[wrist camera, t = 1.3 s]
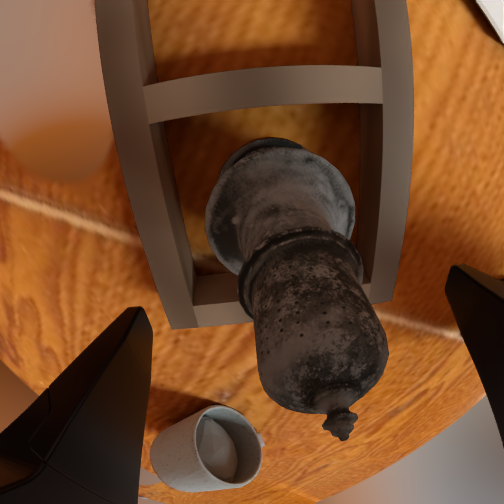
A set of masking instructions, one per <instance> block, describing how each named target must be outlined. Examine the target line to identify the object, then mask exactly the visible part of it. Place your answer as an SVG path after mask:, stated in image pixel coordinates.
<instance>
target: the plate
mask: <svg viewBox="0 0 504 504" xmlns="http://www.w3.org/2000/svg"><path fill="white" fill-rule="evenodd" d="M474 1H475V3H476V4H477V6H478V7H479V9H480V10H481V11H482V13H483V14H484V16H485V17H486V19H487V20H488V22H489V23H490V25H491V27H492V28H493V30H494V31H495V33H496V35H497V36H498V38H499V40H500V41H501V43H502V44H504V0H474Z"/></svg>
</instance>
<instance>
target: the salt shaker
mask: <svg viewBox="0 0 504 504" xmlns="http://www.w3.org/2000/svg"><path fill="white" fill-rule="evenodd" d="M354 223H355V202H354V199H353V195H352V192H351V189H350V186H349V185H348V183H347V181H346V180H345V178H344V177H343V175H342V174H341V172H340V171H339V170H338V169H337V168H335V167H334V166H333V165H332V164H331V163H329V162H328V161H327V160H326V159H325V158H323V157H321V156H318V155H316V154H314V153H311V152H309V151H308V150H306V149H305V148H304V147H302V146H301V145H299V144H297V143H294V142H292V141H290V140H287V139H279V138H266V139H259V140H255V141H253V142H251V143H248V144H246V145H244V146H242V147H241V148H239V149H238V150H237V151H236V152H234V153H233V154H232V155H231V156H230V157H229V159H228V160H227V162H226V163H225V164H224V166H223V167H222V170H221V173H220V175H219V178H218V182H217V183H216V185H215V186H214V188H213V189H212V192H211V195H210V197H209V200H208V203H207V206H206V213H205V230H206V234H207V238H208V242H209V245H210V247H211V248H212V250H213V252H214V254H215V255H216V257H217V259H218V260H219V261H220V262H221V263H222V264H223V265H224V266H225V267H226V268H227V269H228V270H230V271H231V272H232V273H234V274H236V275H238V282H237V294H238V298H239V303H240V305H241V306H242V308H243V309H244V311H245V313H246V314H247V315H248V316H249V317H250V318H252V319H253V320H254V330H255V341H256V352H257V363H258V372H259V376H260V381H261V383H262V386H263V388H264V391H265V392H266V393H267V394H268V396H269V397H270V398H271V399H273V400H274V401H275V402H276V403H278V404H279V405H280V406H282V407H284V408H286V409H288V410H292V411H296V412H301V413H308V414H327V419H326V420H325V422H324V423H323V424H322V427H323V429H324V430H329V431H330V432H331V434H332V435H333V436H335V437H339V439H340V440H341V441H345V440H347V439H348V438H349V433H351V431H352V430H353V429H354V425H353V423H355V422H356V420H357V419H358V416H357V414H356V413H352V412H350V411H349V407H350V406H351V405H353V404H354V403H355V402H356V401H357V400H359V399H360V398H362V397H363V396H364V395H365V394H366V393H367V392H368V391H369V390H370V389H371V388H372V387H374V386H375V385H376V384H377V382H378V381H379V379H380V378H381V376H382V375H383V372H384V369H385V366H386V363H387V360H388V356H389V351H388V344H387V338H386V333H385V331H384V329H383V327H382V325H381V323H380V321H379V319H378V317H377V315H376V313H375V311H374V309H373V307H372V305H371V304H370V302H369V300H368V298H367V296H366V294H365V292H364V290H363V288H362V286H361V283H362V279H363V264H362V260H361V256H360V254H359V252H358V251H357V249H356V248H355V246H354V245H353V243H352V242H351V241H350V238H351V234H352V231H353V227H354Z"/></svg>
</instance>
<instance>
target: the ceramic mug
mask: <svg viewBox="0 0 504 504" xmlns="http://www.w3.org/2000/svg"><path fill="white" fill-rule="evenodd" d="M261 447H264V441H263V438H262V436H261V434H260V433H256V431H255V429H254V428H253V426H252V424H251V423H250V422H249V421H248V420H247V419H246V418H245V417H244V416H243V415H242V414H241V413H239V412H238V411H236V410H234V409H232V408H230V407H227V406H224V405H212V406H209V407H206V408H204V409H202V410H201V411H199V412H197V413H195V414H193V415H191V416H189V417H187V418H185V419H183V420H182V421H180V422H178V423H175V424H173V425H171V426H169V427H167V428H166V429H164V430H163V431H162V432H161V433H159V434H158V435H157V437H156V438H155V439H154V441H153V443H152V445H151V450H150V459H151V464H152V467H153V469H154V471H155V473H156V474H157V476H158V477H159V478H160V479H161V480H162V481H163V482H164V483H165V484H166V485H168V486H170V487H172V488H174V489H177V490H180V491H186V492H202V491H212V490H221V489H230V488H238V487H241V486H244V485H246V484H248V483H249V482H251V481H252V480H253V479H254V478H255V477H256V475H257V474H258V472H259V470H260V467H261V464H262V448H261Z"/></svg>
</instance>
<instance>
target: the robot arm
mask: <svg viewBox="0 0 504 504" xmlns="http://www.w3.org/2000/svg"><path fill="white" fill-rule="evenodd" d="M445 294H446V297H447V299H448V302H449V304H450V307H451V309H452V312H453V314H454V317H455V319H456V322H457V325H458V328H459V330H460V333H461V335H462V337H463V340H464V342H465V344H466V346H467V348H468V351H469V353H470V355H471V357H472V360H473V362H474V364H475V367H476V369H477V372H478V374H479V377H480V379H481V382H482V384H483V387H484V389H485V392H486V395H487V397H488V400H489V403H490V405H491V408H492V411H493V414H494V417H495V420H496V423H497V427H498V430H499V433H500V436H501V439H502V442H503V447H504V279H503V280H497V279H495V278H493V277H491V276H489V275H487V274H485V273H483V272H481V271H478V270H476V269H474V268H472V267H470V266H468V265H466V264H463V263H461V264H456V265H453V266H452V267H451V268H450V271H449V275H448V278H447V282H446V285H445ZM152 344H153V330H152V327H151V324H150V322H149V320H148V317H147V315H146V313H145V310H144V309H143V307H141V306H137V307H128V308H127V309H126V310H125V311H124V312H123V313H122V314H120V315H119V316H118V317H117V318H116V319H115V320H114V321H113V322H112V323H111V324H110V325H109V326H108V327H107V328H106V329H105V330H104V331H103V332H102V333H101V334H100V335H99V336H98V337H97V338H96V339H95V340H94V341H93V342H92V343H91V344H90V345H89V346H88V347H87V348H86V349H85V350H84V351H83V352H82V353H81V354H80V355H79V356H78V357H77V358H76V359H75V360H74V361H73V362H72V363H71V364H70V365H69V366H68V367H67V368H66V369H65V370H64V371H63V372H62V373H61V374H60V375H59V376H58V377H57V378H56V379H55V380H54V381H53V382H52V383H51V384H50V385H49V388H46V390H45V391H44V392H43V393H42V394H41V395H40V396H39V397H38V398H37V399H36V400H35V401H34V402H33V403H32V404H31V405H30V406H29V407H28V408H27V409H26V410H25V411H24V412H23V413H22V414H21V415H20V416H19V417H18V418H17V419H16V420H14V421H13V422H12V423H11V424H10V425H9V426H8V427H7V428H6V429H4V431H2V432H1V433H0V504H138V490H139V477H140V466H141V455H142V446H143V437H144V428H145V420H146V413H147V405H148V398H149V391H150V383H151V364H152Z"/></svg>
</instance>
